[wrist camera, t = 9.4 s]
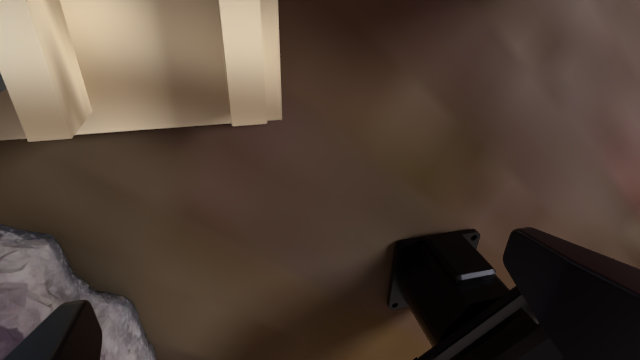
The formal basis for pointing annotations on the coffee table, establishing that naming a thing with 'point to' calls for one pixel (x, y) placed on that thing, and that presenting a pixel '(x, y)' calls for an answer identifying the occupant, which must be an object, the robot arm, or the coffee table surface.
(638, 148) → the coffee table surface
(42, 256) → the geode
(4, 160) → the coffee table surface
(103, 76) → the rack
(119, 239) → the coffee table surface
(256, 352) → the coffee table surface
